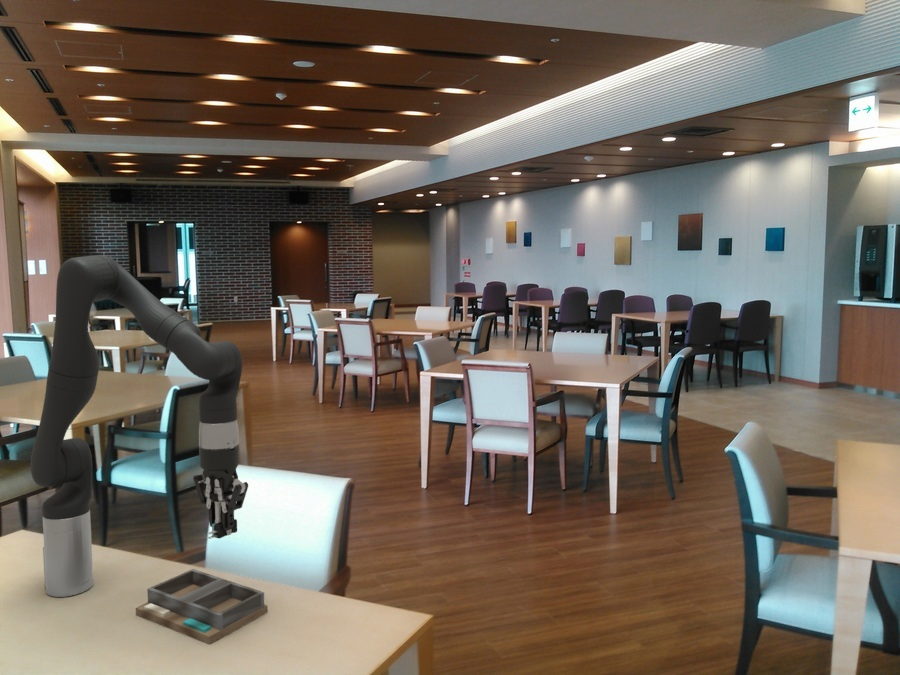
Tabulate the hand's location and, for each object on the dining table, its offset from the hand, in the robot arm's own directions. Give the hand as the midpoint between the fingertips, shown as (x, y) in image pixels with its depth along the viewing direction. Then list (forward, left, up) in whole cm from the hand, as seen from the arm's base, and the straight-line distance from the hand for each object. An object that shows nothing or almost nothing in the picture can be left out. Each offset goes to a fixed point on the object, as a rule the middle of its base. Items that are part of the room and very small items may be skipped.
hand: (221, 527), depth 144 cm
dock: (-6, 0, -19) cm, 20 cm away
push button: (0, 0, -2) cm, 2 cm away
